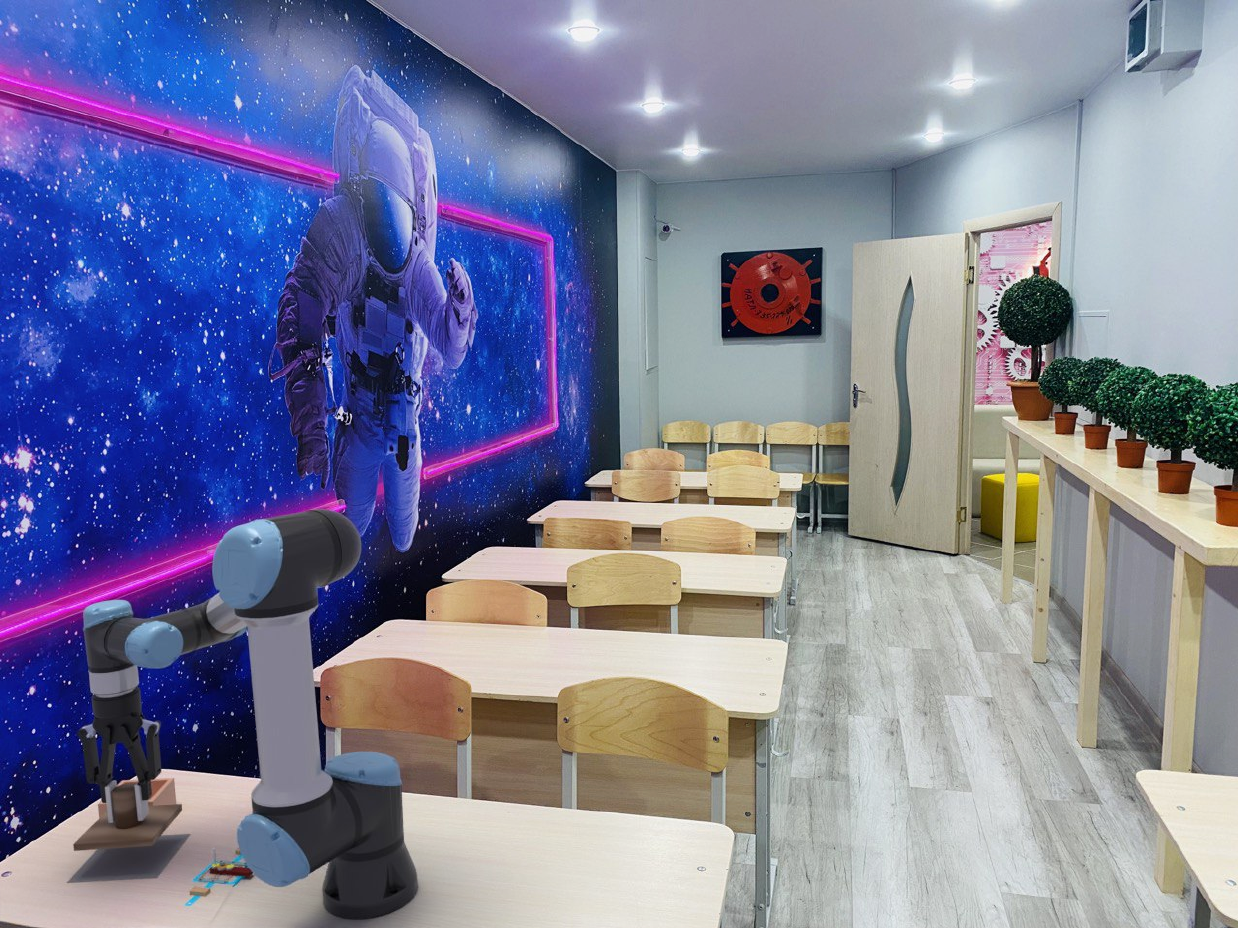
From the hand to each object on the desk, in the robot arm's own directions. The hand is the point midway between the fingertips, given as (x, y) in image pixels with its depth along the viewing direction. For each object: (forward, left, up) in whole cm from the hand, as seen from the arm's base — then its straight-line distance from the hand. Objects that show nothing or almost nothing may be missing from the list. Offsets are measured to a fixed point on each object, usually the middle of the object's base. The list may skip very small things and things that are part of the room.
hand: (129, 817), depth 171 cm
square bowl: (+15, +5, -8) cm, 18 cm away
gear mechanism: (-7, -19, -9) cm, 22 cm away
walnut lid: (0, 0, -2) cm, 2 cm away
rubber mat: (0, 0, -8) cm, 8 cm away
